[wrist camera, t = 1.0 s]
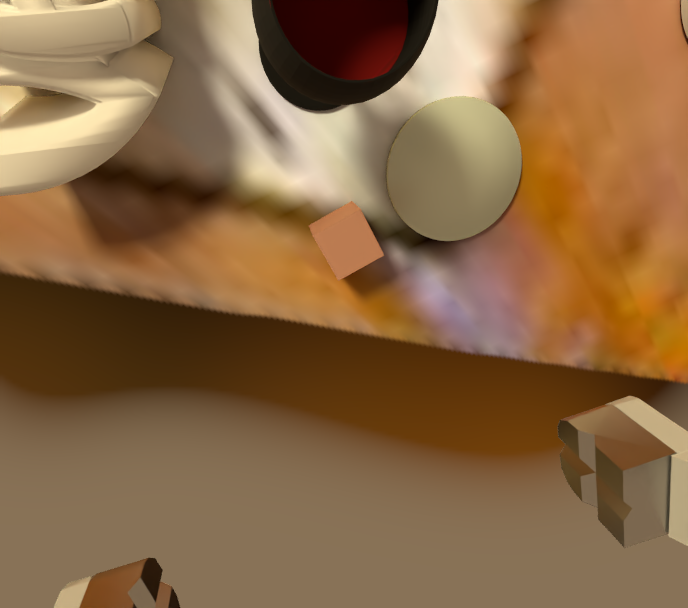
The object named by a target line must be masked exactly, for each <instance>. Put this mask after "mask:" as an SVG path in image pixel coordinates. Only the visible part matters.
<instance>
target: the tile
mask: <svg viewBox="0 0 688 608" xmlns="http://www.w3.org/2000/svg"><path fill="white" fill-rule="evenodd" d="M521 167H522V154H521V147H520V143H519V139H518V136H517V134H516V131H515V129H514V127H513V126H512V124H511V122H510V121H509V120H508V118H507V117H506V116H505V115H504V114H503V113H502V112H501V111H500V110H499V109H498V108H496V107H495V106H493V105H492V104H490V103H488V102H486V101H484V100H481V99H477V98H474V97H466V96H460V97H450V98H444V99H441V100H438V101H435V102H433V103H431V104H429V105H427V106H425V107H423V108H422V109H420V110H419V111H417V112H416V113H415V114H414V115H413V116H412V117H411V118H410V119H409V120H408V121H407V122H406V123H405V124H404V125H403V127H402V128H401V130H400V131H399V133H398V134H397V136H396V138H395V140H394V142H393V144H392V147H391V150H390V153H389V157H388V161H387V168H386V182H387V190H388V194H389V198H390V200H391V203H392V205H393V207H394V209H395V211H396V212H397V214H398V215H399V217H400V218H401V219H402V220H403V221H404V222H405V223H406V224H407V225H408V226H409V227H410V228H412V229H413V230H415V231H416V232H417V233H419V234H421V235H423V236H425V237H428V238H431V239H435V240H440V241H456V240H461V239H465V238H468V237H471V236H474V235H476V234H478V233H480V232H482V231H483V230H485V229H486V228H488V227H489V226H490V225H492V224H493V223H494V222H495V221H496V220H497V219H498V218H499V217H500V216H501V215H502V214H503V212H504V211H505V210H506V209H507V207H508V205H509V204H510V202H511V201H512V199H513V196H514V194H515V192H516V189H517V187H518V184H519V180H520V175H521Z"/></svg>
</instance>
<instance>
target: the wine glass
mask: <svg viewBox="0 0 688 608" xmlns="http://www.w3.org/2000/svg"><path fill="white" fill-rule="evenodd" d="M437 6H438V0H252V12H253V18H254V23H255V28H256V32H257V35H258V38H259V53H260V58H261V62H262V65H263V68H264V71H265V73H266V75H267V77H268V79H269V81H270V82H271V84H272V85H273V87H274V88H275V89H276V90H277V91H278V92H279V93H280V94H281V95H282V96H283V97H284V98H285V99H287V100H288V101H289V102H291V103H293V104H295V105H297V106H299V107H302V108H305V109H309V110H328V109H333V108H336V107H338V106H341V105H349V104H356V103H362V102H365V101H367V100H370V99H373V98H375V97H377V96H379V95H380V94H382V93H384V92H386V91H387V90H389V89H390V88H391V87H393V86H394V85H395V84H396V83H397V82H399V81H400V80H401V79H402V78H403V77H404V75H405V74H406V73H407V72H408V71H409V70H410V69H411V67H412V66H413V65H414V63H415V62H416V60H417V59H418V57H419V56H420V54H421V52H422V50H423V48H424V46H425V44H426V42H427V40H428V38H429V35H430V32H431V29H432V26H433V23H434V20H435V17H436V11H437Z"/></svg>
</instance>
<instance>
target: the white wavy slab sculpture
mask: <svg viewBox="0 0 688 608" xmlns="http://www.w3.org/2000/svg"><path fill="white" fill-rule="evenodd" d="M160 28H161V16H160V12H159V9H158V7H157V5H156V3H155V1H154V0H0V85H9V86H25V87H34V88H40V89H47V90H52V91H56V92H61V93H65V94H60V95H52V96H26V97H25V98H23V99H22V100H21V101H20V102H19V103H17V104H16V105H15V106H14V107H12V108H11V109H10V110H9V111H8V112H6V113H5V114H4V115H3V116H2V117H0V196H5V195H18V194H25V193H31V192H37V191H41V190H45V189H49V188H52V187H56V186H59V185H62V184H65V183H67V182H69V181H72V180H74V179H76V178H78V177H81V176H83V175H85V174H86V173H88V172H90V171H92V170H93V169H95V168H97V167H99V166H100V165H101V164H103V163H104V162H105V161H107V160H108V159H110V158H111V157H112V156H114V155H115V154H116V153H117V152H118V151H119V150H120V149H121V148H122V147H123V146H125V145H126V144H127V143H128V141H129V140H130V139H131V138H132V137H133V136H134V135H135V134H136V132H137V131H138V130H139V129H140V127H141V126H142V125H143V123H144V122H145V120H146V119H147V117H148V116H149V115H150V113H151V111H152V109H153V107H154V106H155V104H156V102H157V100H158V99H159V97H160V95H161V92H162V89H163V87H164V84H165V81H166V78H167V76H168V73H169V70H170V67H171V64H172V62H173V59H174V58H173V57H171V56H170V55H168V54H167V53H165V52H164V51H162V50H161V49H159V48H158V47H156V46H154V45H152V44H150V43H148V42H146V41H144V40H143V39H145V38H147V37H148V36H150V35H151V34H153V33H155V32H156V31H158V30H159V29H160Z"/></svg>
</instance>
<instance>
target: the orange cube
mask: <svg viewBox="0 0 688 608" xmlns="http://www.w3.org/2000/svg"><path fill="white" fill-rule="evenodd" d="M309 227H310V230H311V232H312V235H313V237H314V239H315V240H316V242H317V244H318V246H319V247H320V249H321V251H322V253H323V254H324V256H325V258H326V260H327V261H328V263H329V265H330V267H331V268H332V270H333V272H334V274H335V275H336V277H337V279H338V281H339V280H341V279H343V278H344V277H346V276H348V275H350V274H351V273H353V272H355V271H357V270H359V269H360V268H362V267H364V266H366V265H368V264H369V263H371V262H373V261H375V260H377V259H378V258H380V257H382V256H384V254H383V252H382V250H381V248H380V246H379V244H378V242H377V240H376V238H375V236H374V234H373V232H372V230H371V228H370V226H369V225H368V223H367V221H366V219H365V217H364V215H363V213H362V211H361V209H360V208H359V207H358V206H357V205H356V204H354V203H353V202H352V201H351V202H349V203H348V204H346V205H344V206H342V207H341V208H339V209H337V210H335V211H333V212H332V213H330V214H328V215H326V216H325V217H323V218H321V219H319V220H318V221H316V222H314V223H312V224H311V225H309Z"/></svg>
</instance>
